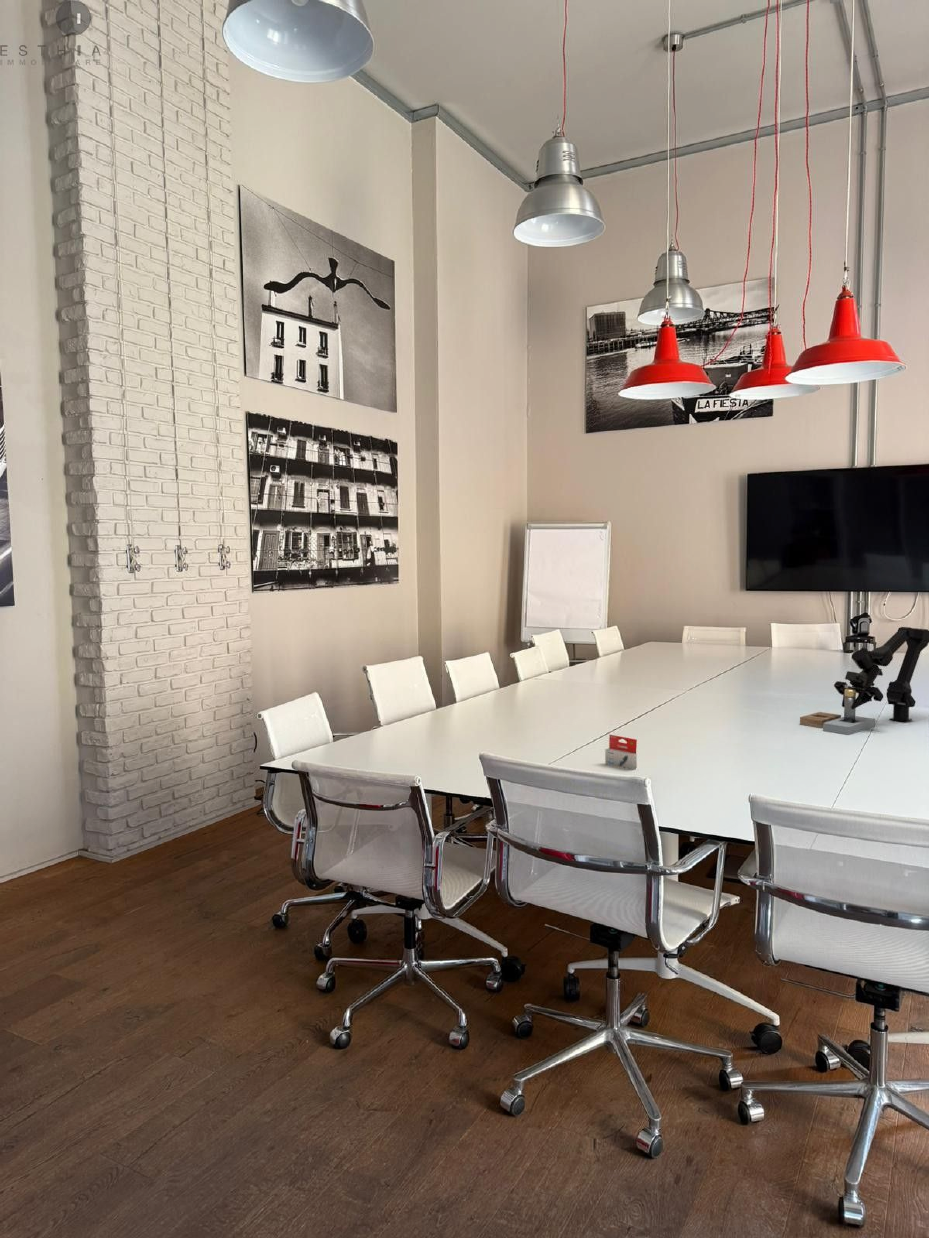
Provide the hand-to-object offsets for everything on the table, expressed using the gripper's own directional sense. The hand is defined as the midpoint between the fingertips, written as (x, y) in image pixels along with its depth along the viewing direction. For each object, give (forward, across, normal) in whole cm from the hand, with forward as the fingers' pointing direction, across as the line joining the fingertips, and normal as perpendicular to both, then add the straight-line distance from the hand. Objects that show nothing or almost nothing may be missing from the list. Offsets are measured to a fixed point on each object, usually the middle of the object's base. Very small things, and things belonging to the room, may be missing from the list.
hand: (847, 707), depth 319 cm
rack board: (+5, 0, +7) cm, 8 cm away
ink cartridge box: (+84, +1, -72) cm, 111 cm away
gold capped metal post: (+4, 0, +6) cm, 7 cm away
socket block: (+6, -12, +6) cm, 15 cm away
